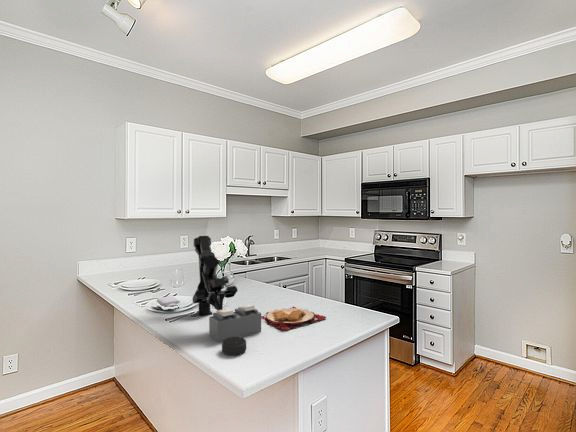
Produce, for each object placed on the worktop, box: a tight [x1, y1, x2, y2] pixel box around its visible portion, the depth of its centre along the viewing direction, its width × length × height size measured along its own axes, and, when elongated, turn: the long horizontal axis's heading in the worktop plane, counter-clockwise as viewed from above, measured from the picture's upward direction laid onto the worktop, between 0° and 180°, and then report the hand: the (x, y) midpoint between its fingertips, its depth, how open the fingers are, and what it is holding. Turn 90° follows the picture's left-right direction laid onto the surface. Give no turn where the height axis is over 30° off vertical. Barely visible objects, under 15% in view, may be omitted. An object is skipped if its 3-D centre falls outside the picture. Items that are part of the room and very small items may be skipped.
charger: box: [156, 295, 181, 307], centre depth 180 cm, size 5×9×15 cm
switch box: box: [208, 308, 262, 343], centre depth 146 cm, size 8×20×9 cm, turn 126°
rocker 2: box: [237, 305, 256, 311], centre depth 148 cm, size 6×4×2 cm
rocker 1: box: [215, 308, 234, 316], centre depth 142 cm, size 6×4×2 cm
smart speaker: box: [221, 337, 247, 356], centre depth 129 cm, size 9×9×4 cm
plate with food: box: [261, 306, 327, 331], centre depth 166 cm, size 25×26×4 cm
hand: (221, 312), depth 145 cm, fingers closed, pressing on rocker 1
